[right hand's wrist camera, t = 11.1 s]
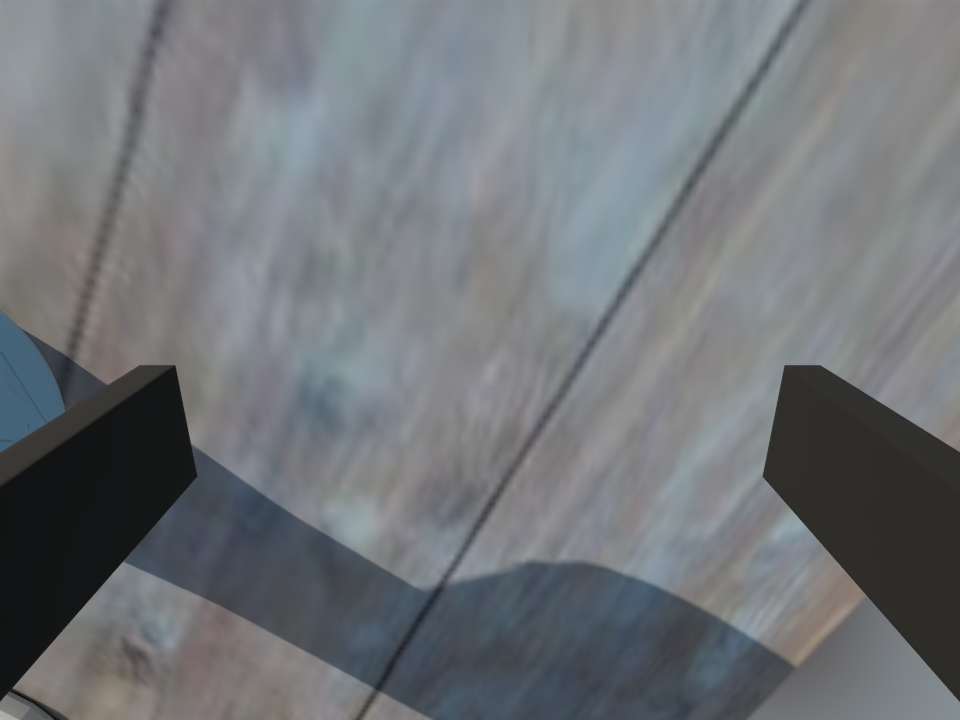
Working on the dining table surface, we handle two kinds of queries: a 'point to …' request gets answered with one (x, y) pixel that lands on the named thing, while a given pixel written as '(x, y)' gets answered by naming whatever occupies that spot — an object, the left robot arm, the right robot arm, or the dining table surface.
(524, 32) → the dining table surface
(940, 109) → the dining table surface
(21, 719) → the wall clock
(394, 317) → the dining table surface
